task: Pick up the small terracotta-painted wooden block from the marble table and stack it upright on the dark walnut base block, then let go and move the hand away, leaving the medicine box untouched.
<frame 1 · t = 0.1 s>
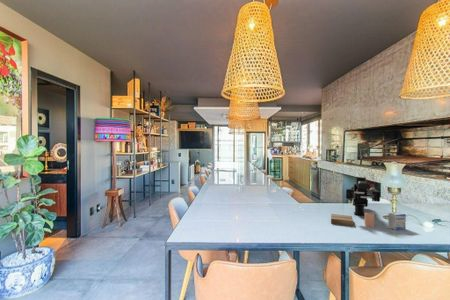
hand: (364, 197, 146), 17 cm above the table, tool horizontal, fingers open, 9 cm apart
medicine box: (396, 228, 141), on the table
walnut base: (341, 222, 152), on the table
terracotta block: (369, 225, 146), on the table
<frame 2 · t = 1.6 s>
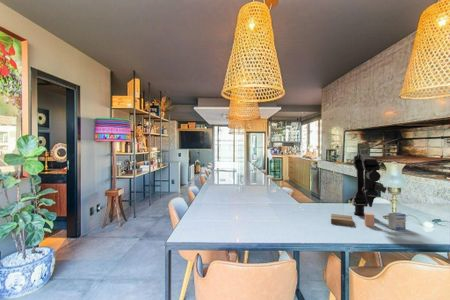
hand: (369, 205, 146), 12 cm above the table, tool pointing down, fingers open, 9 cm apart
nothing on the table moved.
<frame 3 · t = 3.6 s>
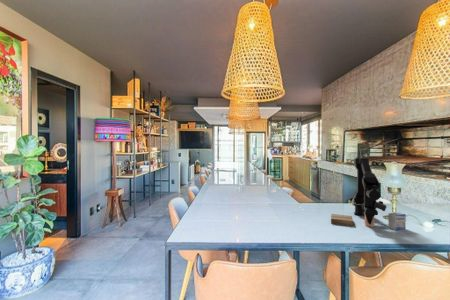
hand: (369, 222, 146), 2 cm above the table, tool pointing down, fingers closed on terracotta block, 4 cm apart
terracotta block: (369, 225, 146), on the table, touching gripper
everything else where it was.
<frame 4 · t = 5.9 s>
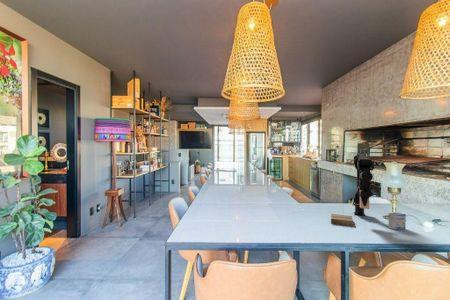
hand: (364, 205, 147), 12 cm above the table, tool pointing down, fingers closed on terracotta block, 4 cm apart
terracotta block: (364, 207, 147), point 10 cm above the table, touching gripper
everything else where it was.
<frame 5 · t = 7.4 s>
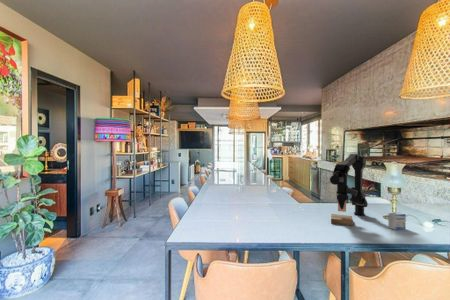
hand: (341, 208, 152), 9 cm above the table, tool pointing down, fingers closed on terracotta block, 4 cm apart
terracotta block: (341, 210, 152), point 7 cm above the table, touching gripper
everything else where it was.
when the fingers open (6 cm above the table, at t = 8.2 s): terracotta block drops 1 cm, resting on walnut base.
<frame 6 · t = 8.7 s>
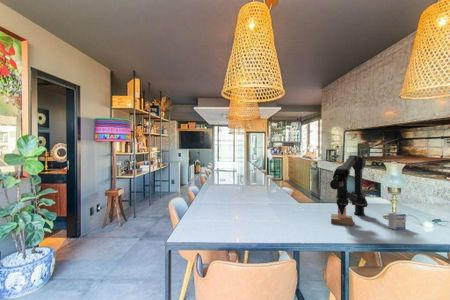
hand: (341, 212, 152), 6 cm above the table, tool pointing down, fingers open, 9 cm apart
terracotta block: (341, 217, 152), point 3 cm above the table, touching walnut base
everything else where it was.
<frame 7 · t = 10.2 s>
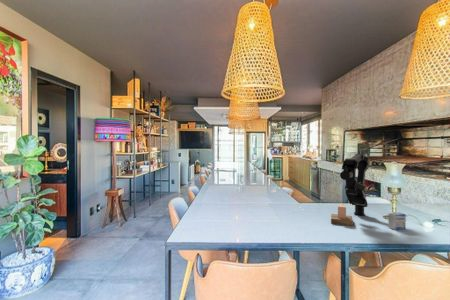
hand: (350, 202, 156), 11 cm above the table, tool pointing down, fingers open, 9 cm apart
nothing on the table moved.
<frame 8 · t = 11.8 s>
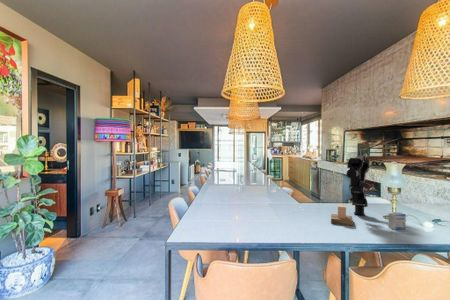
hand: (354, 200, 158), 12 cm above the table, tool pointing down, fingers open, 9 cm apart
nothing on the table moved.
at the end: terracotta block inside the target area on the walnut base (0.1 cm from its centre), point 3.0 cm above the walnut base's base; terracotta block tilted 0°; terracotta block touching walnut base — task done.
